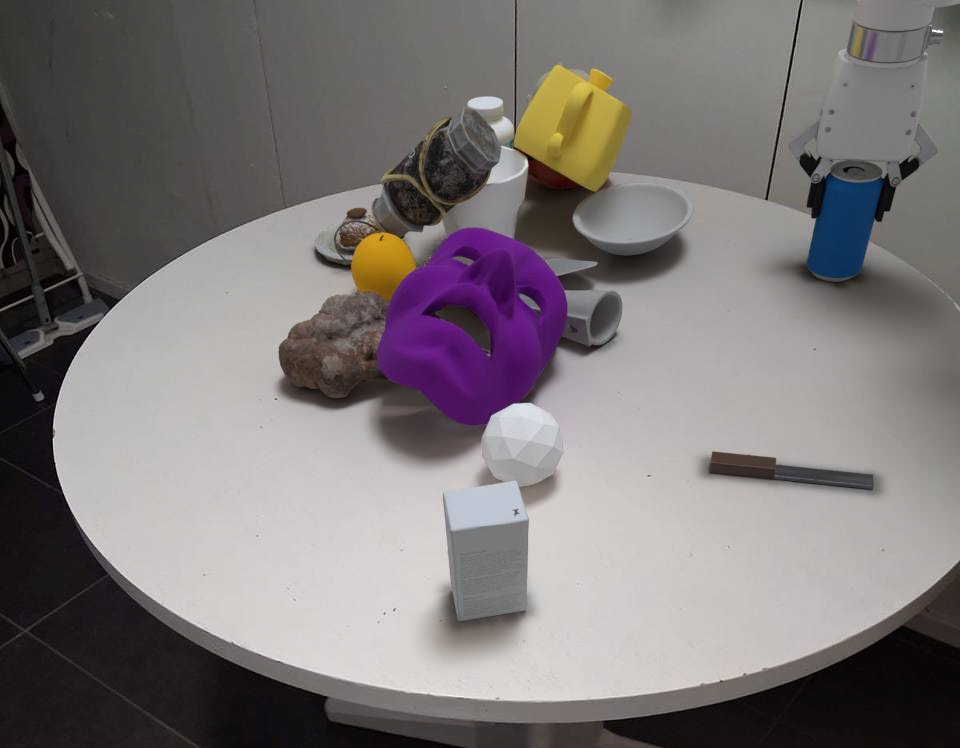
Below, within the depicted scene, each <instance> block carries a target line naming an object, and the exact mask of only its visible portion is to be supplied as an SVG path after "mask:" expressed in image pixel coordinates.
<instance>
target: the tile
mask: <svg viewBox="0 0 960 748" xmlns="http://www.w3.org/2000/svg"><path fill="white" fill-rule="evenodd" d="M543 260H544V261H545V262H546V263H547V265H548V266H549V267H550V268H551V269H552V271H553V272H554V273H555V275H556V276H557V277H560V276H563V275H566V274H571V273H574V272H577V271H582V270H585V269H589V268H593V267H596V266H597V265H598V262H597V261H590V260H589V261H588V260H579V259H578V260H577V259H565V258H547V259H543Z"/></svg>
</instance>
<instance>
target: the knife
mask: <svg viewBox="0 0 960 748" xmlns="http://www.w3.org/2000/svg"><path fill="white" fill-rule="evenodd" d="M709 473H713V474H723V475H732V476H739V477H742V476H743V477H752V478H761V479H770V480H778V481H787V482H788V481H790V482H798V483H808V484H815V485H816V484H817V485H825V486H826V485H827V486H837V487H844V488H845V487H846V488H855V489H863V490H864V489H865V490H873V489H874V488H875V484H874V483H875V482H874V474H872V473H861V472H852V471H843V470H833V469H823V468H822V469H821V468H813V467H802V466H795V465H793V466H792V465H783V464H777V457H773V456H762V455H753V454H743V453H732V452H722V451H715V450H714V451H712V452H711V457H710V465H709Z"/></svg>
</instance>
